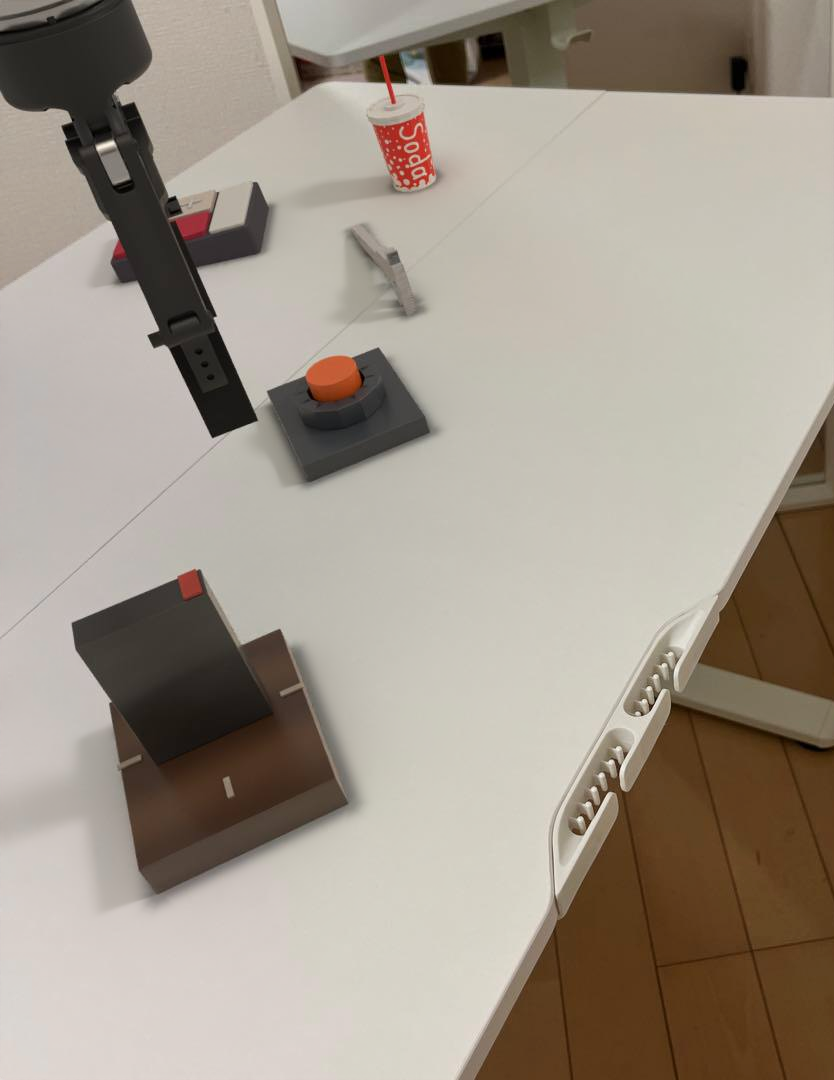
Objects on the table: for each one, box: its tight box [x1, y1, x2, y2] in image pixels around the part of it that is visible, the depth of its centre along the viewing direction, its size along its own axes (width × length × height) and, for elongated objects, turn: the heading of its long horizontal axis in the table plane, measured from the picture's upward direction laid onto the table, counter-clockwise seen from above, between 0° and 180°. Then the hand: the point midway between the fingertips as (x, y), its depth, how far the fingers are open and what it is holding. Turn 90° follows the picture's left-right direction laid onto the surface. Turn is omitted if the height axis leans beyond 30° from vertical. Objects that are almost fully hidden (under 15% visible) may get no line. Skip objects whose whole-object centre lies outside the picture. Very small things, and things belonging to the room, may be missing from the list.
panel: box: [108, 628, 350, 895], centre depth 64 cm, size 13×11×3 cm
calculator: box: [109, 180, 270, 284], centre depth 117 cm, size 11×4×15 cm
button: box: [305, 355, 362, 403], centre depth 86 cm, size 4×4×2 cm
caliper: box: [351, 224, 418, 316], centre depth 105 cm, size 20×1×6 cm, turn 22°
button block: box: [266, 347, 431, 483], centre depth 88 cm, size 12×10×4 cm
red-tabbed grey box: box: [71, 568, 273, 765], centre depth 60 cm, size 7×2×10 cm, turn 114°
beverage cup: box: [365, 54, 437, 193], centre depth 115 cm, size 6×6×14 cm
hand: (214, 370), depth 67 cm, fingers open, 13 cm apart
